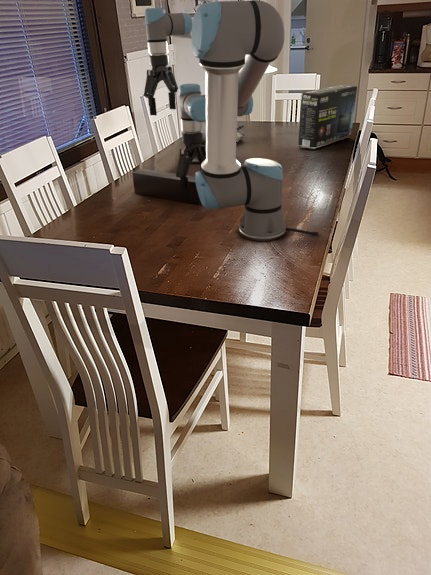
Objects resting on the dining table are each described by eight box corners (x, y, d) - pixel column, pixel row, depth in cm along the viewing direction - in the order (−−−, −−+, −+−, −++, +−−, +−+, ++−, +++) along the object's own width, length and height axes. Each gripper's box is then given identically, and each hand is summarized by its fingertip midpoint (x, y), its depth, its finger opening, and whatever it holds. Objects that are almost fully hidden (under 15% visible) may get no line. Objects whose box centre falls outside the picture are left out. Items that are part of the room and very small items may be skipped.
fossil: (235, 139, 243) (216, 121, 246) (225, 155, 249) (206, 138, 252) (251, 137, 256) (233, 120, 260) (241, 153, 263) (223, 137, 266)
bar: (207, 199, 177) (206, 178, 173) (199, 204, 173) (198, 182, 169) (143, 188, 191) (141, 168, 187) (134, 193, 187) (132, 172, 183)
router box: (314, 151, 231) (318, 94, 217) (296, 148, 237) (299, 92, 224) (352, 138, 251) (358, 85, 238) (335, 135, 258) (340, 83, 245)
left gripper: (168, 51, 189) (173, 106, 199) (130, 57, 170) (137, 117, 181) (184, 51, 185) (187, 107, 196) (146, 57, 167) (152, 118, 178)
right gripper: (201, 122, 174) (203, 177, 185) (163, 138, 156) (168, 197, 167) (218, 124, 171) (219, 179, 182) (181, 140, 153) (185, 200, 164)
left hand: (163, 112), depth 189 cm, fingers open, 13 cm apart
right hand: (195, 188), depth 175 cm, fingers open, 13 cm apart
